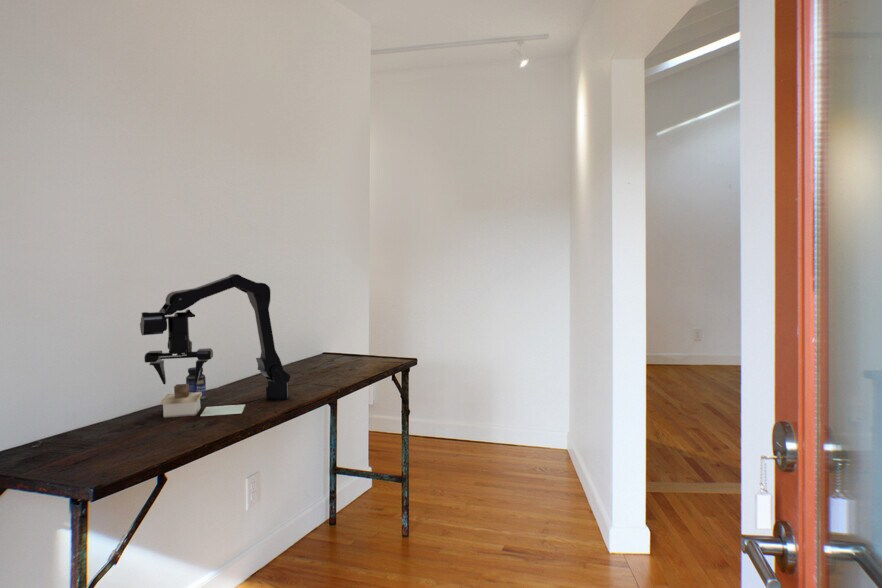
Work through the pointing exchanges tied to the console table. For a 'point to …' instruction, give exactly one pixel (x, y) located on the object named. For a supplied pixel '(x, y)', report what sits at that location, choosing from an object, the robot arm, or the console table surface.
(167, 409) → the beige boxy piece
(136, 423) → the console table surface
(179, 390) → the lid
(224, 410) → the mat
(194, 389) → the pill bottle
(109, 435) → the console table surface
